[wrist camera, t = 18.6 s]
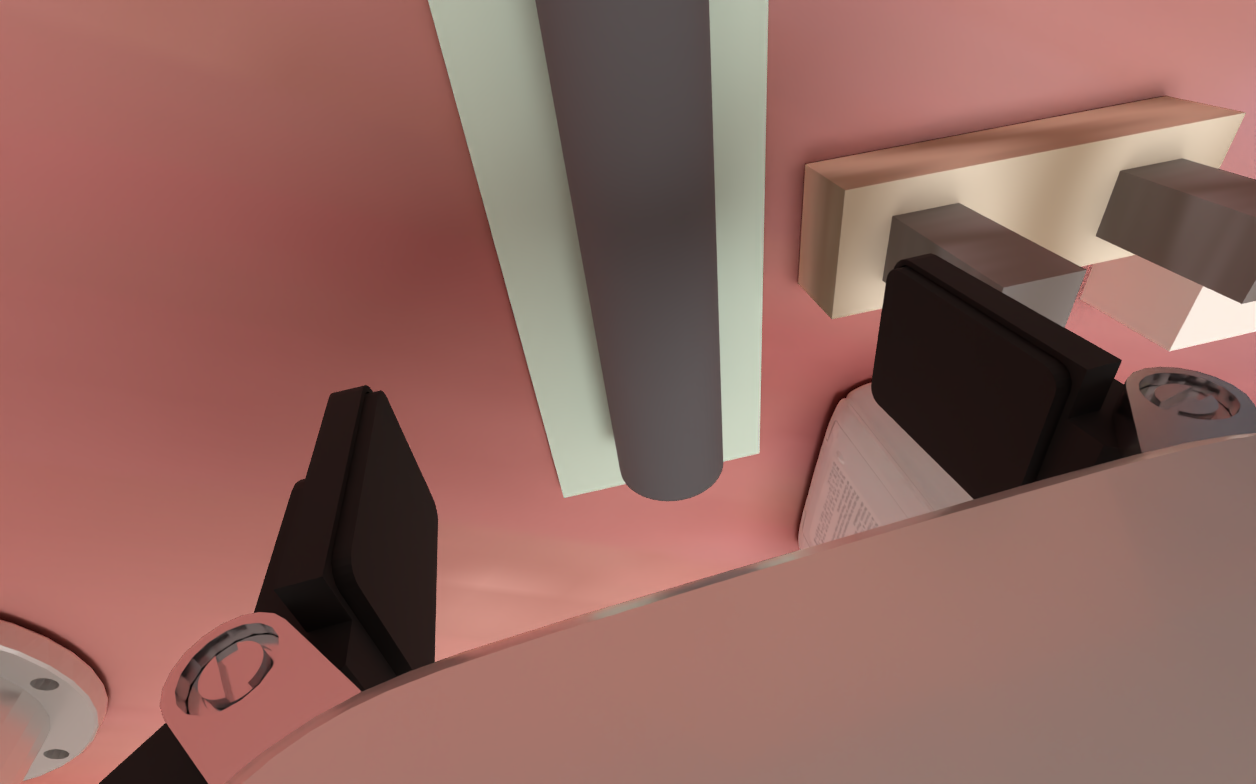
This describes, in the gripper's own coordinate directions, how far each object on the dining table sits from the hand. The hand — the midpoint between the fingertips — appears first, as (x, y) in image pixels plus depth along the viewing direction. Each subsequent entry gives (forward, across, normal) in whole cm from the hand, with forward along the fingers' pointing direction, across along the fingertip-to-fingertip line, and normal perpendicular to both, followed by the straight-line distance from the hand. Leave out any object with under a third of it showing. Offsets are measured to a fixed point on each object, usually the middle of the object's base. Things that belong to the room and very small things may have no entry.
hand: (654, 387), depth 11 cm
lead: (+8, -1, -1) cm, 8 cm away
